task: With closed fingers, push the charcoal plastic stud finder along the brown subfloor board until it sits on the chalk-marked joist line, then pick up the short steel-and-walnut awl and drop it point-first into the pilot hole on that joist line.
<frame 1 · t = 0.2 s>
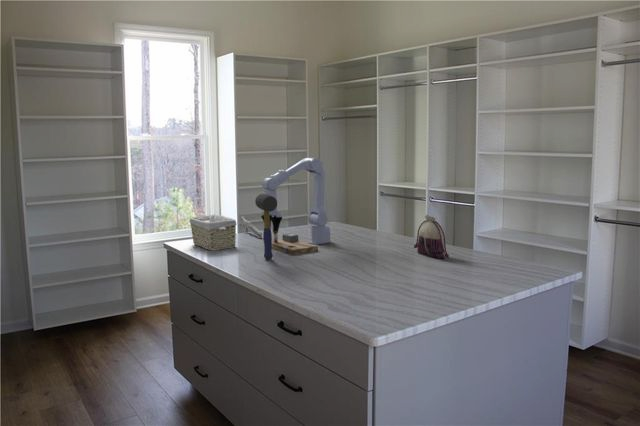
hand: (272, 230, 271), 10 cm above the worktop, fingers open, 7 cm apart
gun: (251, 235, 315), on the worktop
storage basket: (213, 246, 286), on the worktop
pouch: (431, 256, 251), on the worktop
stud finder: (290, 240, 282), point 2 cm above the worktop, touching subfloor board
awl: (275, 242, 279), point 2 cm above the worktop, touching subfloor board
rubber mallet: (268, 260, 252), on the worktop
subfloor board: (291, 248, 274), on the worktop
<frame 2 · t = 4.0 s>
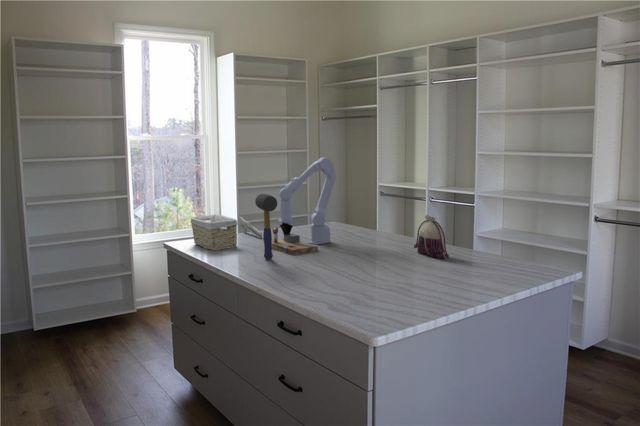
hand: (286, 237, 284), 3 cm above the worktop, fingers closed
stud finder: (291, 241, 281), point 3 cm above the worktop, touching subfloor board
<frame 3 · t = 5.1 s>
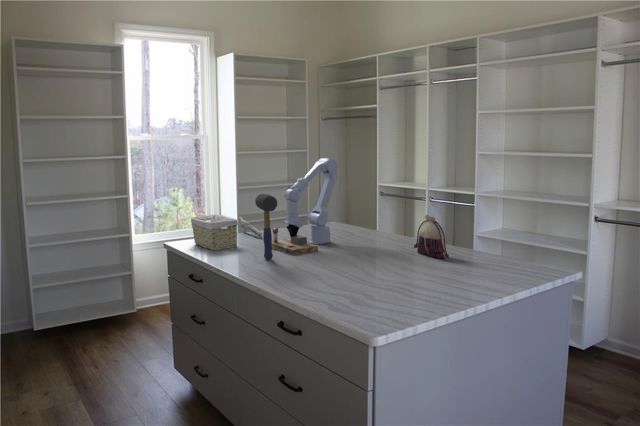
hand: (293, 239, 279), 3 cm above the worktop, fingers closed
stud finder: (298, 242, 275), point 3 cm above the worktop
everything else where it was.
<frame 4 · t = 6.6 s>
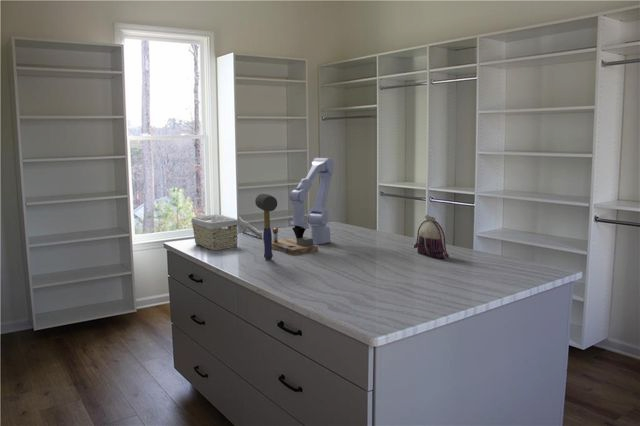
hand: (299, 241, 275), 3 cm above the worktop, fingers closed
stud finder: (304, 244, 271), point 2 cm above the worktop, touching gripper, subfloor board
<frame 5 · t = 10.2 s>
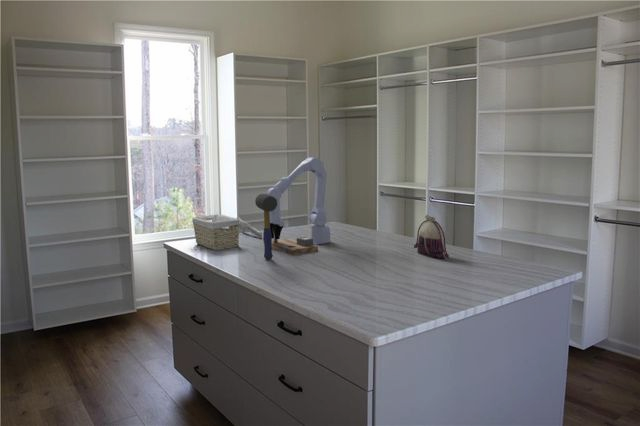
hand: (275, 238, 279), 4 cm above the worktop, fingers closed on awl, 3 cm apart
stud finder: (305, 244, 271), point 2 cm above the worktop, touching subfloor board
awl: (275, 242, 279), point 2 cm above the worktop, touching gripper, subfloor board
when the fingers open (3 cm above the worktop, at t = 14.3 s): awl drops 1 cm, resting in subfloor board.
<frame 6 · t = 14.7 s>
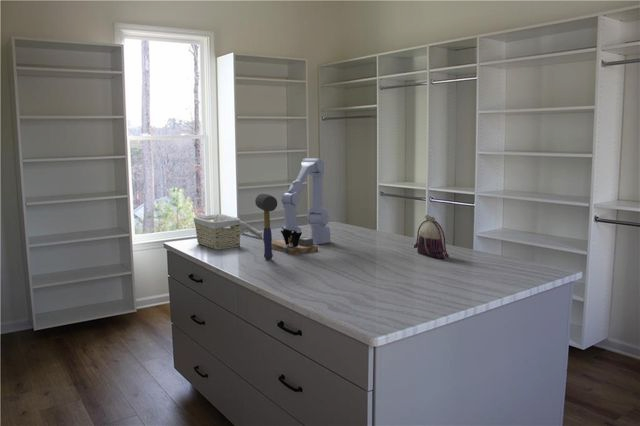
hand: (291, 245, 267), 3 cm above the worktop, fingers open, 6 cm apart
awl: (291, 251, 267), resting in subfloor board
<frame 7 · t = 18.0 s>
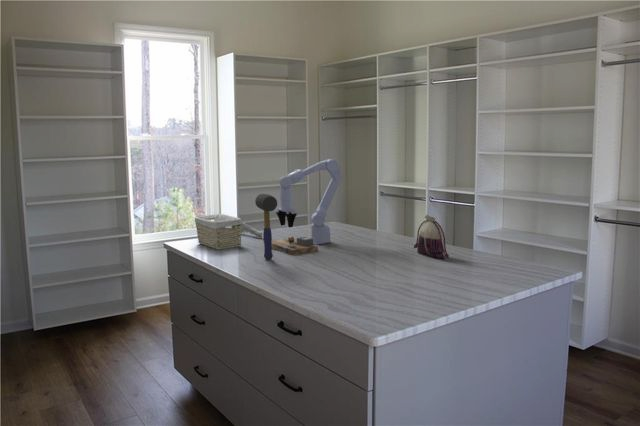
hand: (286, 226, 284), 9 cm above the worktop, fingers open, 7 cm apart
at the end: stud finder 0.4 cm from the target spot, point 2.5 cm above the worktop; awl 0.2 cm from the target spot on the subfloor board, point 0.0 cm above the subfloor board's base; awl tilted 0° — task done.
